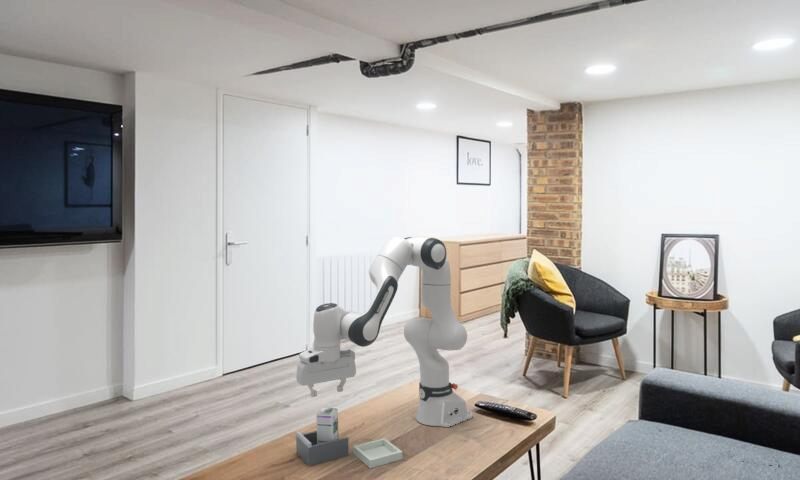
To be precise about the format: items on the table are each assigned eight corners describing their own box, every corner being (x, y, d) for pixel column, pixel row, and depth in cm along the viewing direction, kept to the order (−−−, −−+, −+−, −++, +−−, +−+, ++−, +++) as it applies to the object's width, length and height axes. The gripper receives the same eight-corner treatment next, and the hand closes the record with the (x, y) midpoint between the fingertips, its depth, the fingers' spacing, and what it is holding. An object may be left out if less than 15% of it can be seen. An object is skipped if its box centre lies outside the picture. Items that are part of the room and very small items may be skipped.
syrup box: (333, 457, 182) (333, 414, 181) (316, 455, 183) (316, 413, 182) (338, 449, 188) (338, 408, 187) (322, 448, 189) (321, 406, 188)
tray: (384, 445, 191) (384, 438, 191) (402, 459, 181) (402, 451, 180) (353, 453, 185) (353, 446, 185) (370, 468, 174) (370, 460, 174)
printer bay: (334, 443, 193) (334, 423, 192) (348, 455, 183) (348, 434, 183) (296, 452, 185) (296, 431, 185) (308, 466, 176) (308, 444, 176)
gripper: (350, 346, 191) (350, 385, 192) (294, 354, 180) (294, 396, 181) (359, 350, 186) (359, 391, 187) (301, 359, 175) (301, 402, 176)
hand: (327, 393), depth 184 cm, fingers open, 8 cm apart
